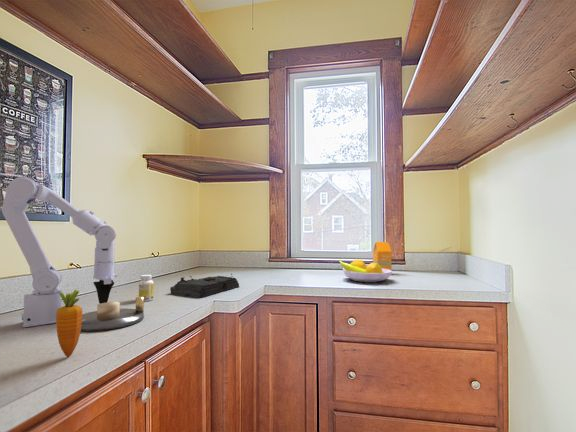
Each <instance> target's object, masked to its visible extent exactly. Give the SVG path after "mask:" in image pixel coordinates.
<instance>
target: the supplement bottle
mask: <svg viewBox="0 0 576 432" xmlns="http://www.w3.org/2000/svg"><path fill="white" fill-rule="evenodd" d="M152 276H153V275H152V274H141V275H140V281H139V282H138V297H140V296H143V297H144V302H149V301H152V300H154V295H155V294H154V286H155V285H154V280H152V278H153V277H152Z"/></svg>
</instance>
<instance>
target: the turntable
mask: <svg viewBox="0 0 576 432" xmlns="http://www.w3.org/2000/svg"><path fill="white" fill-rule="evenodd" d="M144 302H145V301H144V297H143V296H140V297H139V296H136V297H135V308H124V307H123V308H120V313H119V317H118V318H115V319H110V320H98V319H97V310H95V311H91V312H90V311H89V312H87V313H86V312H85V313H82V324H81V331H80V332H100V331H110V330H116V329H122V328H126V327H129V326H133V325H135V324H137V323H140V322H141V321H143V319H144V317H145V313H144V306H145V305H144Z"/></svg>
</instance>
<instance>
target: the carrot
mask: <svg viewBox="0 0 576 432" xmlns="http://www.w3.org/2000/svg"><path fill="white" fill-rule="evenodd" d="M79 294H80V291H79V290H78V289H74V290H73V292H71V293H70V292H69V293H66V294H64V293H63V292H61V293H59V295H60V296H61V300H62V301H63V303H64V306H61V308H59V309H58V310H57V312H56V323H55V324H56V326H55V327H56V336H57V340H58V344H59V347H60V350H62V352H63V354H64V356H65V357H67V358H69V357H71V355H72V354H74V351H75V349H76V347H77V345H78V342H79V341H80V340H79V339H80V336H81V332H82V331H81V324H82V314H83V308H82V307H81V306H80V305H78V304H76V303H77V302H79V300H80V297H78V295H79Z"/></svg>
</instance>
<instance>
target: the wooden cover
mask: <svg viewBox="0 0 576 432" xmlns="http://www.w3.org/2000/svg"><path fill="white" fill-rule="evenodd" d="M120 304H121V303H120V302H119V301H108V302H106V303H101V304H100V303H99V304H97V306H96V307H97V308H96V309H97V310H96V311H97V319H98V320H110V319H115V318H118V317H119V313H120V309H121V307H120V306H121V305H120Z"/></svg>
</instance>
